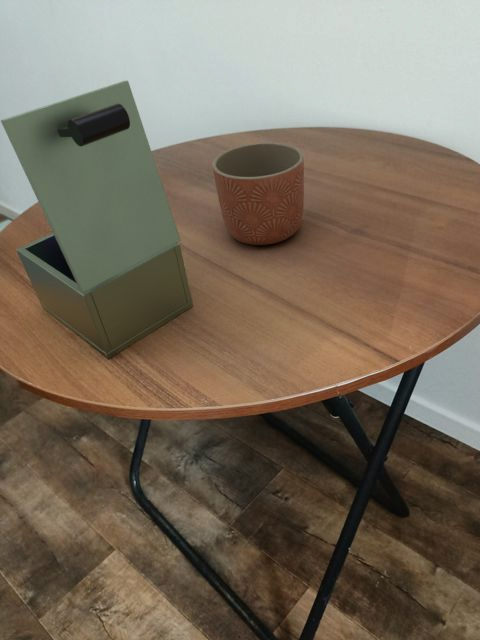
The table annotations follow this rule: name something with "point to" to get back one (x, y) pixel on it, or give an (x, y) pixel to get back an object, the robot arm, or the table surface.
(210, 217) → the table surface
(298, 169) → the planter
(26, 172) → the green box lid
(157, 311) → the box base
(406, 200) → the table surface
